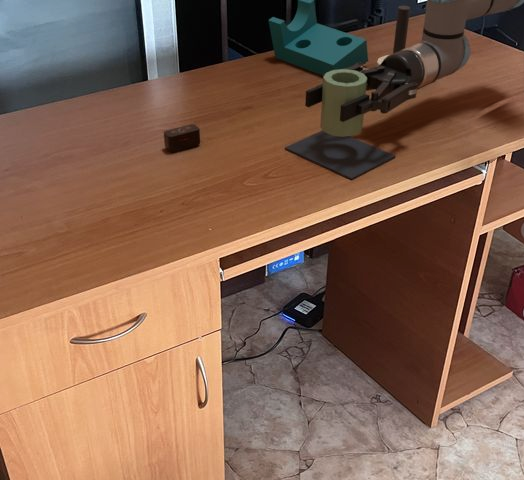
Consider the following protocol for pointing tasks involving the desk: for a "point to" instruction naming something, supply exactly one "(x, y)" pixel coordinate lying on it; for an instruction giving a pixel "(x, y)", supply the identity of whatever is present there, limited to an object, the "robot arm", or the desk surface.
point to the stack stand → (401, 29)
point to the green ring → (341, 101)
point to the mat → (340, 154)
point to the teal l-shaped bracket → (315, 42)
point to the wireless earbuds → (182, 138)
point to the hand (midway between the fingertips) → (324, 106)
